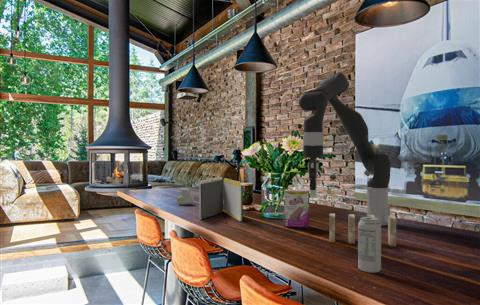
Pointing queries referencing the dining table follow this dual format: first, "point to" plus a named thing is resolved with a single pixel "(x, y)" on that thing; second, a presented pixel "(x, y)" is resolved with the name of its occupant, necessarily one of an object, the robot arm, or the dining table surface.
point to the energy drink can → (369, 245)
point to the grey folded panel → (221, 197)
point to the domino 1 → (312, 192)
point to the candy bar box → (296, 208)
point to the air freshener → (185, 197)
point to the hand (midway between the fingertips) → (313, 189)
